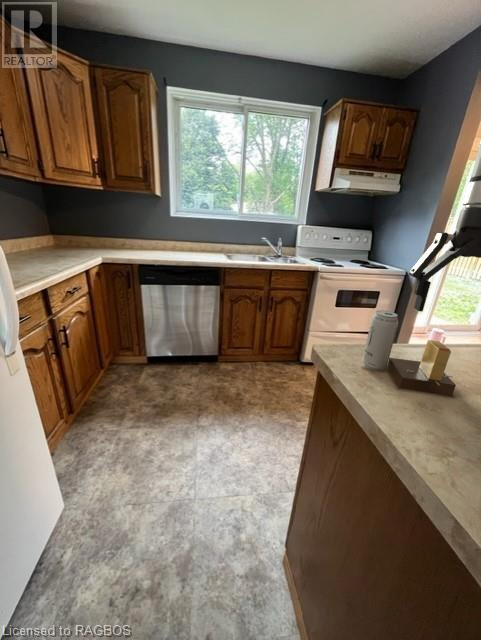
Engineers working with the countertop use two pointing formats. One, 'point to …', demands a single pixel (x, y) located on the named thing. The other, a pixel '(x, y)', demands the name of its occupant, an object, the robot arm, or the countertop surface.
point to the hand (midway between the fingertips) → (452, 312)
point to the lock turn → (434, 360)
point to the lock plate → (418, 378)
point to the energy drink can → (380, 340)
